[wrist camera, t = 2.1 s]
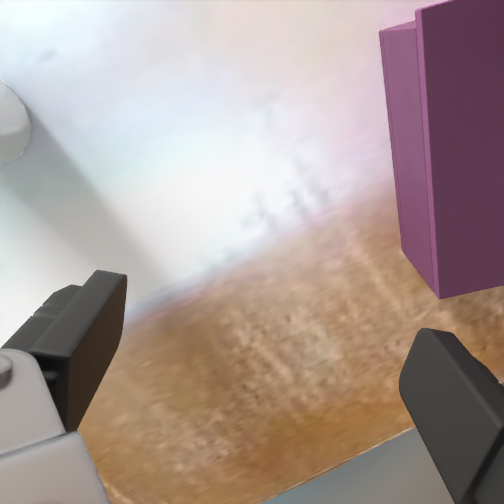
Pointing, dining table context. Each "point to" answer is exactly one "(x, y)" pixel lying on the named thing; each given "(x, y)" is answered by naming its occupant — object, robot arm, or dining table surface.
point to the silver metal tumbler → (12, 125)
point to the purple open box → (408, 143)
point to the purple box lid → (464, 141)
